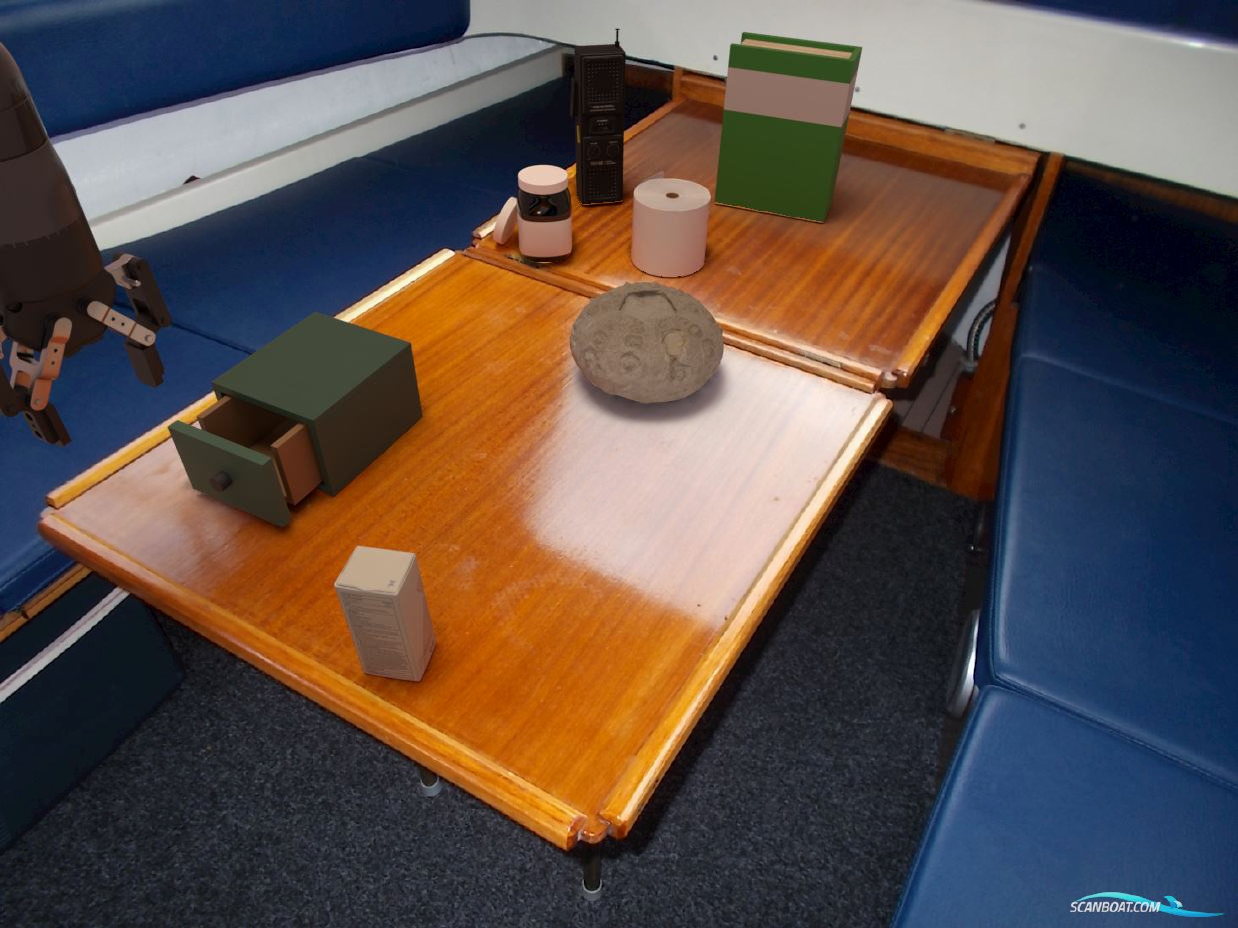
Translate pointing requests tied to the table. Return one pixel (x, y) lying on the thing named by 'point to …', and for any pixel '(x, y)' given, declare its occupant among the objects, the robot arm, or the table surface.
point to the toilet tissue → (669, 226)
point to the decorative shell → (647, 342)
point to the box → (387, 612)
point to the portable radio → (599, 121)
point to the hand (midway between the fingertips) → (107, 411)
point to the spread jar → (539, 215)
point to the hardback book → (785, 124)
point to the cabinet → (333, 391)
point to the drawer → (249, 458)
